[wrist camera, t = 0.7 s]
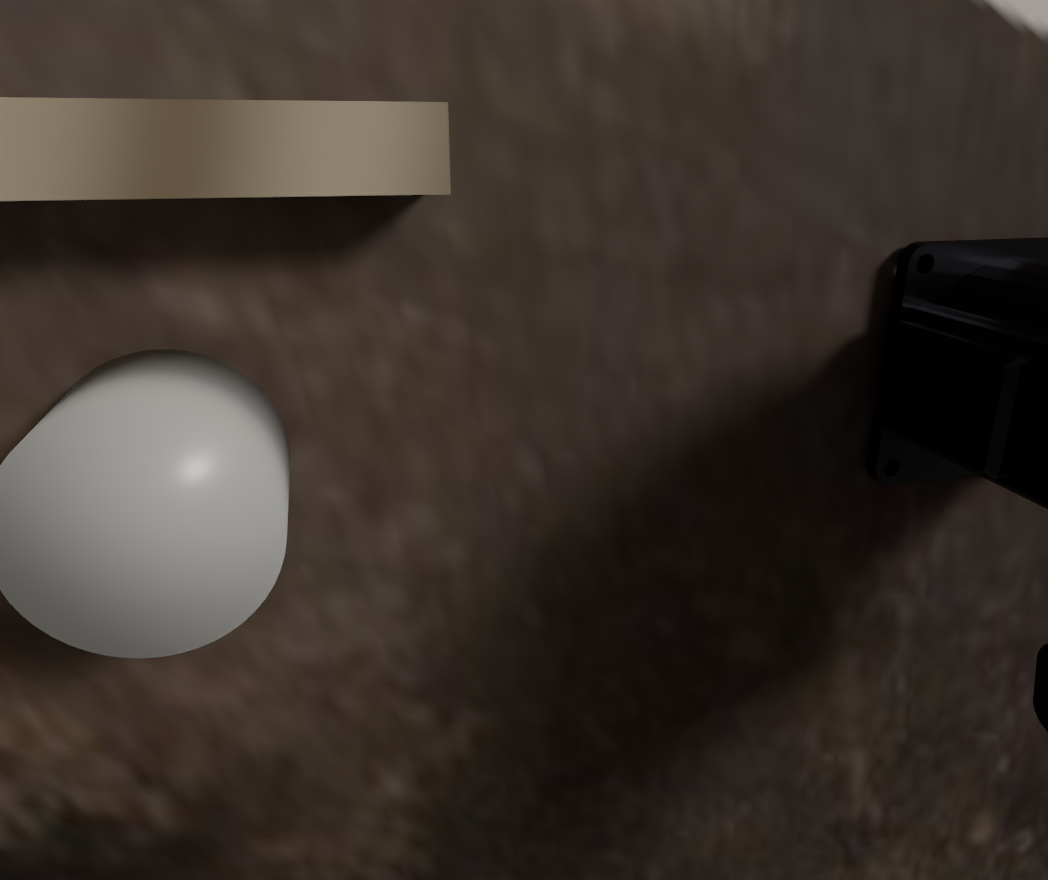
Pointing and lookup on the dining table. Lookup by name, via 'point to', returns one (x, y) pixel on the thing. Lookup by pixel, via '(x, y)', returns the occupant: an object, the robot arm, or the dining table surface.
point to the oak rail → (220, 148)
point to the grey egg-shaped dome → (146, 507)
